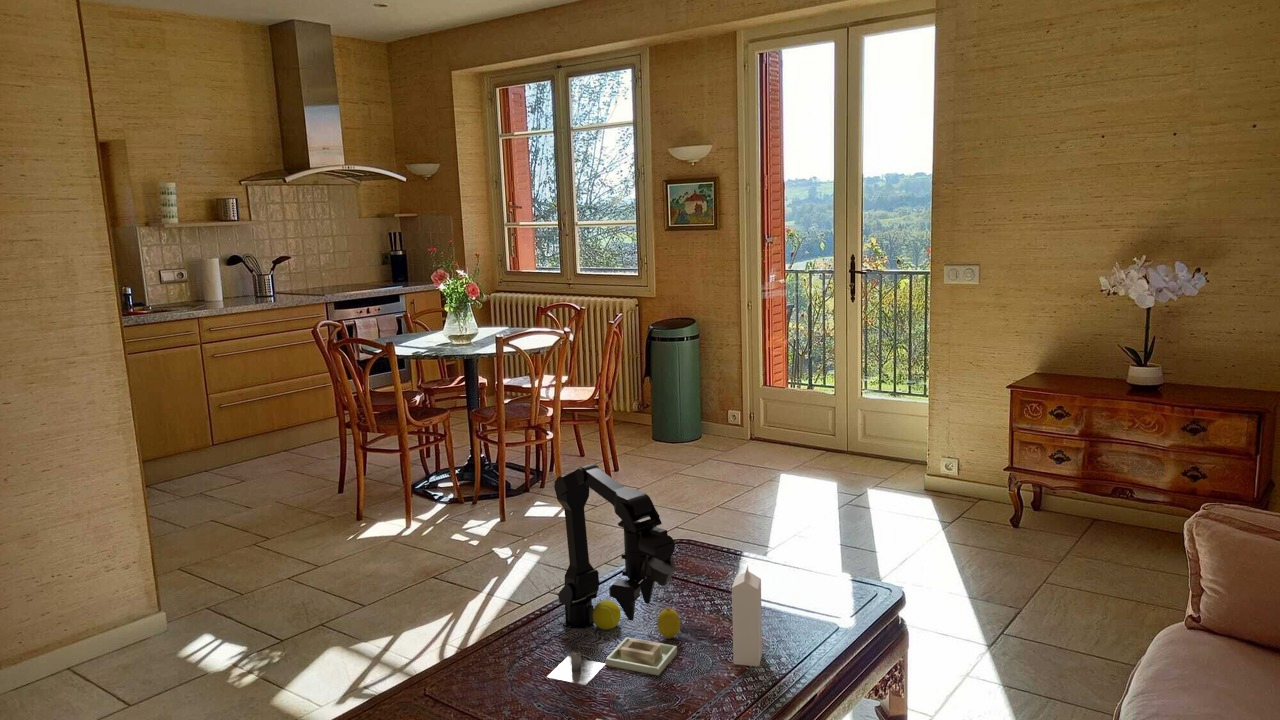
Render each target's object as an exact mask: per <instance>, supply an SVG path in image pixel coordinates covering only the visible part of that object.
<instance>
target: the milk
mask: <svg viewBox="0 0 1280 720" xmlns="http://www.w3.org/2000/svg"><path fill="white" fill-rule="evenodd" d="M731 609H732V617H731V618H732V650H733V651H732V652H733V653H732V654H733V655H732V656H733V657H732V658H733V659H732V661H733V665H739V666H750V667H760V665H761V661H762V655H763V634H762V633H763V629H762V628H763V627H762V624H763V621H762V620H763V619H762V579H761V577H759V576H757V575H756V574H754V573H752V572H751V571H749V565H747V567H746V569H745V572H743V573H741V574H739V575H736V576H735V577H734V581H733V583H732V586H731Z"/></svg>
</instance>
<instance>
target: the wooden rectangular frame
mask: <svg viewBox="0 0 1280 720" xmlns="http://www.w3.org/2000/svg"><path fill="white" fill-rule="evenodd" d="M630 638H631V639H630V640H629V641H628V642H627V643H626V644H625V645H624V646H623V647H622V646H620V648H619V649H618V656H621V660H622V661H627V662H633V663H638V664H643V665H648V666H654V665H655V664H656V663H657V661H658V660H659V659H660V658H661V657H662V644H663V643H662V644H660V643H661V642H657V643H654V642H655V641H651V642H649V641H650V640H645V641H643V640H644V639H640V640H638V638H634V639H632V638H633V637H630Z"/></svg>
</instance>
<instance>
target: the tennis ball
mask: <svg viewBox="0 0 1280 720" xmlns="http://www.w3.org/2000/svg"><path fill="white" fill-rule="evenodd" d="M621 615H622V614H621V609H620V607H619V605H618V604H617V603H616V602H614V601H613V600H608V599H607V600H602V601H599V602H598V603H597V604H596V605H595V606H594V610H593V620H594V621H593V623H594V624H595V626H596V627H598V628H599V629H601V630H612V629H614V628H615V627H616V626H618V624H619V622H620V620H621Z"/></svg>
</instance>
